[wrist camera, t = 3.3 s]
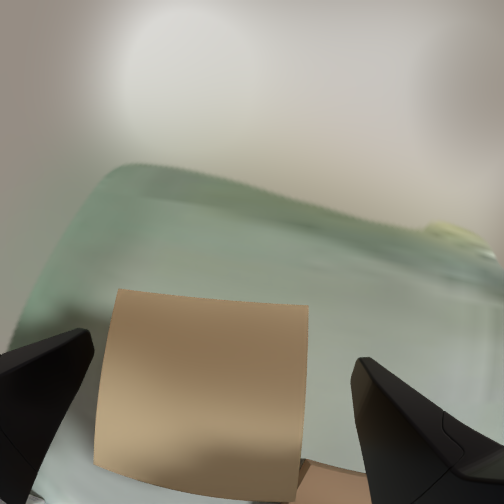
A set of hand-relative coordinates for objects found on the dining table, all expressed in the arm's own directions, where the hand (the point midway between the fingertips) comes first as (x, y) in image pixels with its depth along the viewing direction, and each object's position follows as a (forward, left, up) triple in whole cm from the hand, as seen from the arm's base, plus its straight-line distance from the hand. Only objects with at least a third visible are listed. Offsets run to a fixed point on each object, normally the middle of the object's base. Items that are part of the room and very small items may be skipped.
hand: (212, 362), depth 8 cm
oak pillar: (0, -1, -7) cm, 7 cm away
